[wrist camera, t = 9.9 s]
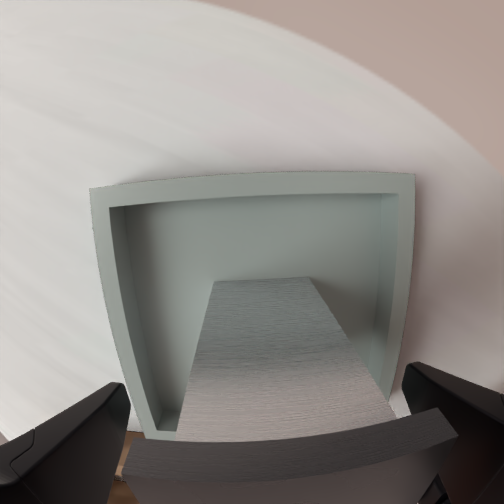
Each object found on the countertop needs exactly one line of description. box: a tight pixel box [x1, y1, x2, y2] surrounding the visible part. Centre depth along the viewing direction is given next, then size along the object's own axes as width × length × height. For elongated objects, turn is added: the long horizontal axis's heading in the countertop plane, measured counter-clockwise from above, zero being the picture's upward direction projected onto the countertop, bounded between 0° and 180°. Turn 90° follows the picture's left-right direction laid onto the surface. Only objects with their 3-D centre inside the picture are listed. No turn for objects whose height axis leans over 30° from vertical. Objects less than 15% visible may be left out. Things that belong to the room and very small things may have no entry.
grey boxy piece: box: [121, 276, 459, 504], centre depth 9 cm, size 5×5×10 cm
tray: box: [89, 171, 415, 441], centre depth 13 cm, size 13×13×2 cm
